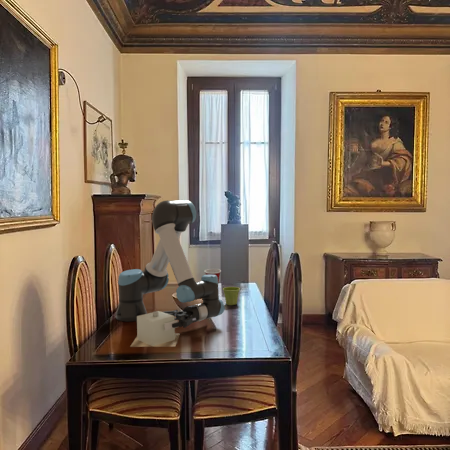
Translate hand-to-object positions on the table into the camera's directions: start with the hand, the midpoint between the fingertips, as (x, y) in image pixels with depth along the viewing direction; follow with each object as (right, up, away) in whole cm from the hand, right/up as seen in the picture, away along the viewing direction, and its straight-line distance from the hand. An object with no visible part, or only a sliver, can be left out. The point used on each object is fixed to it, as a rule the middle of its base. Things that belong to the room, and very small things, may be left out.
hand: (154, 323), depth 182 cm
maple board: (0, -8, +1) cm, 9 cm away
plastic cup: (+21, -1, +103) cm, 105 cm away
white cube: (0, -7, +1) cm, 7 cm away
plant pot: (+32, -3, +63) cm, 71 cm away
